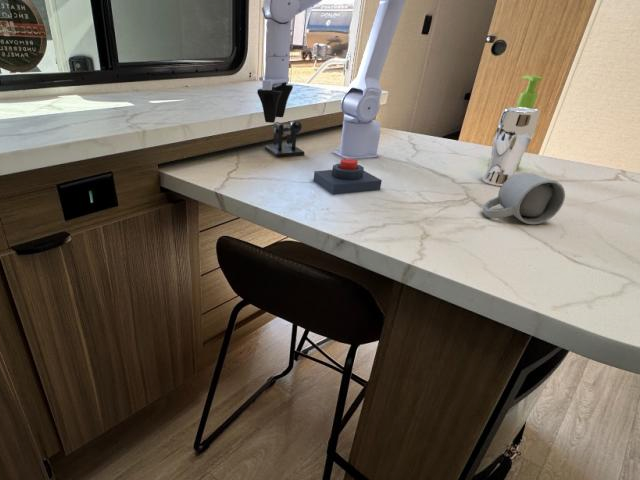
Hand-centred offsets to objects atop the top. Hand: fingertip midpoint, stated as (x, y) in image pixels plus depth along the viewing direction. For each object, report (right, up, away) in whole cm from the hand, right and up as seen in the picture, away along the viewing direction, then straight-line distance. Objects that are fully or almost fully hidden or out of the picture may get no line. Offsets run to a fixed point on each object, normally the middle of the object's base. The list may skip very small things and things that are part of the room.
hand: (274, 119), depth 102 cm
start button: (+15, -16, -13) cm, 26 cm away
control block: (+15, -19, -11) cm, 27 cm away
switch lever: (+5, -1, +7) cm, 8 cm away
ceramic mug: (+42, -30, -27) cm, 58 cm away
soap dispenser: (+57, -11, +1) cm, 59 cm away
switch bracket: (+4, -4, +13) cm, 14 cm away
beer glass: (+49, -18, -9) cm, 54 cm away
